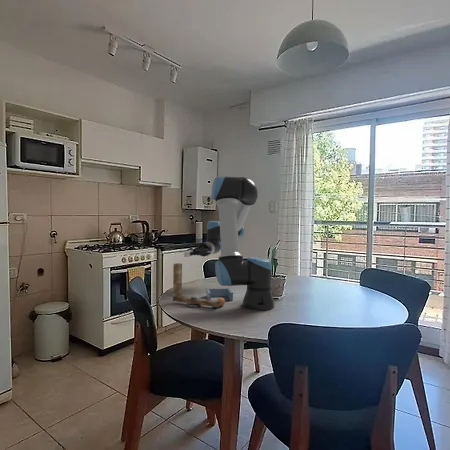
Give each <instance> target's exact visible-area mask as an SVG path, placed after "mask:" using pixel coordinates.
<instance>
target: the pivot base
mask: <svg viewBox="0 0 450 450" xmlns="http://www.w3.org/2000/svg"><path fill="white" fill-rule="evenodd" d="M185 305H186V307H188V308H200V307H202V305H198V304H191V303H185Z"/></svg>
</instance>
